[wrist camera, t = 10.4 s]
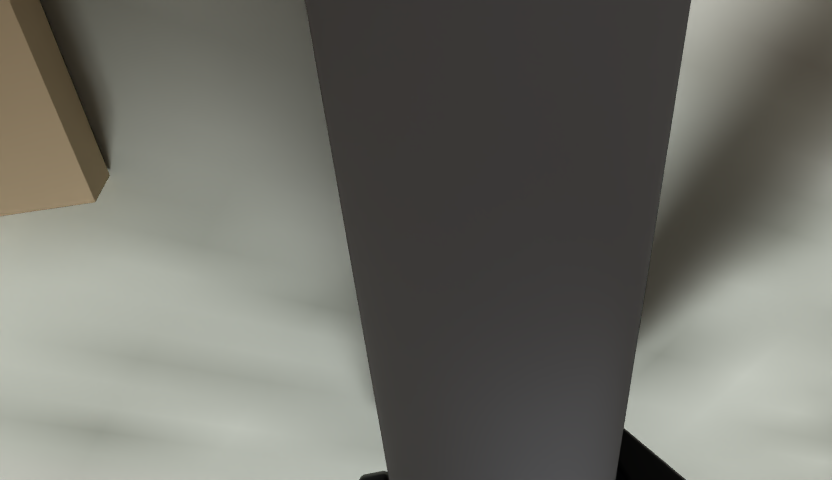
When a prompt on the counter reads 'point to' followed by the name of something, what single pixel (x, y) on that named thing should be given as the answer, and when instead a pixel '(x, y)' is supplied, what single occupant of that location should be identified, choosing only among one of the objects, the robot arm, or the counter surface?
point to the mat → (41, 120)
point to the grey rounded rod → (499, 219)
